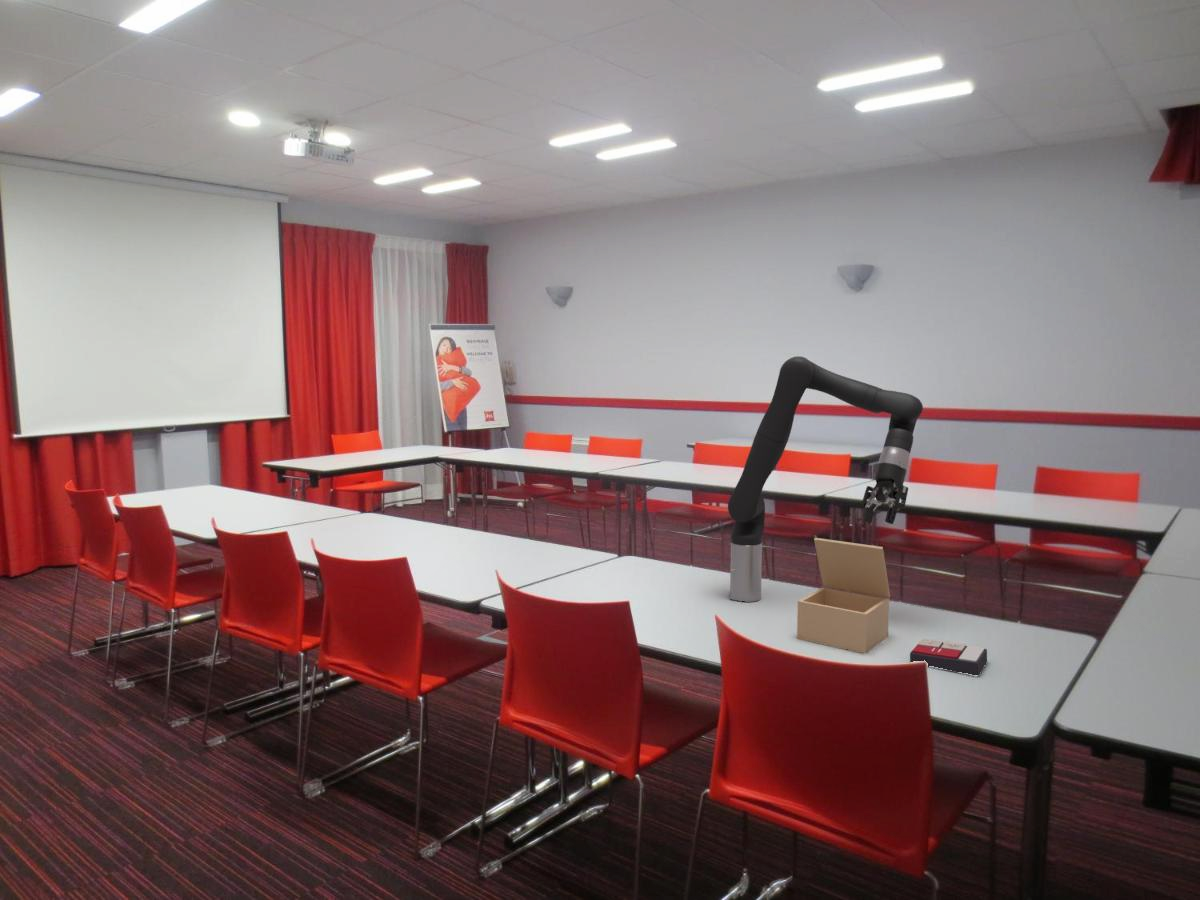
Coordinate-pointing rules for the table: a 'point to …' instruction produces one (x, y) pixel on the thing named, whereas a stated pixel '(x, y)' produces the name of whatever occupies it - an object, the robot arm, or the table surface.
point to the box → (843, 619)
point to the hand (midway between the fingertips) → (877, 523)
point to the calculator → (950, 656)
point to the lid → (852, 567)
